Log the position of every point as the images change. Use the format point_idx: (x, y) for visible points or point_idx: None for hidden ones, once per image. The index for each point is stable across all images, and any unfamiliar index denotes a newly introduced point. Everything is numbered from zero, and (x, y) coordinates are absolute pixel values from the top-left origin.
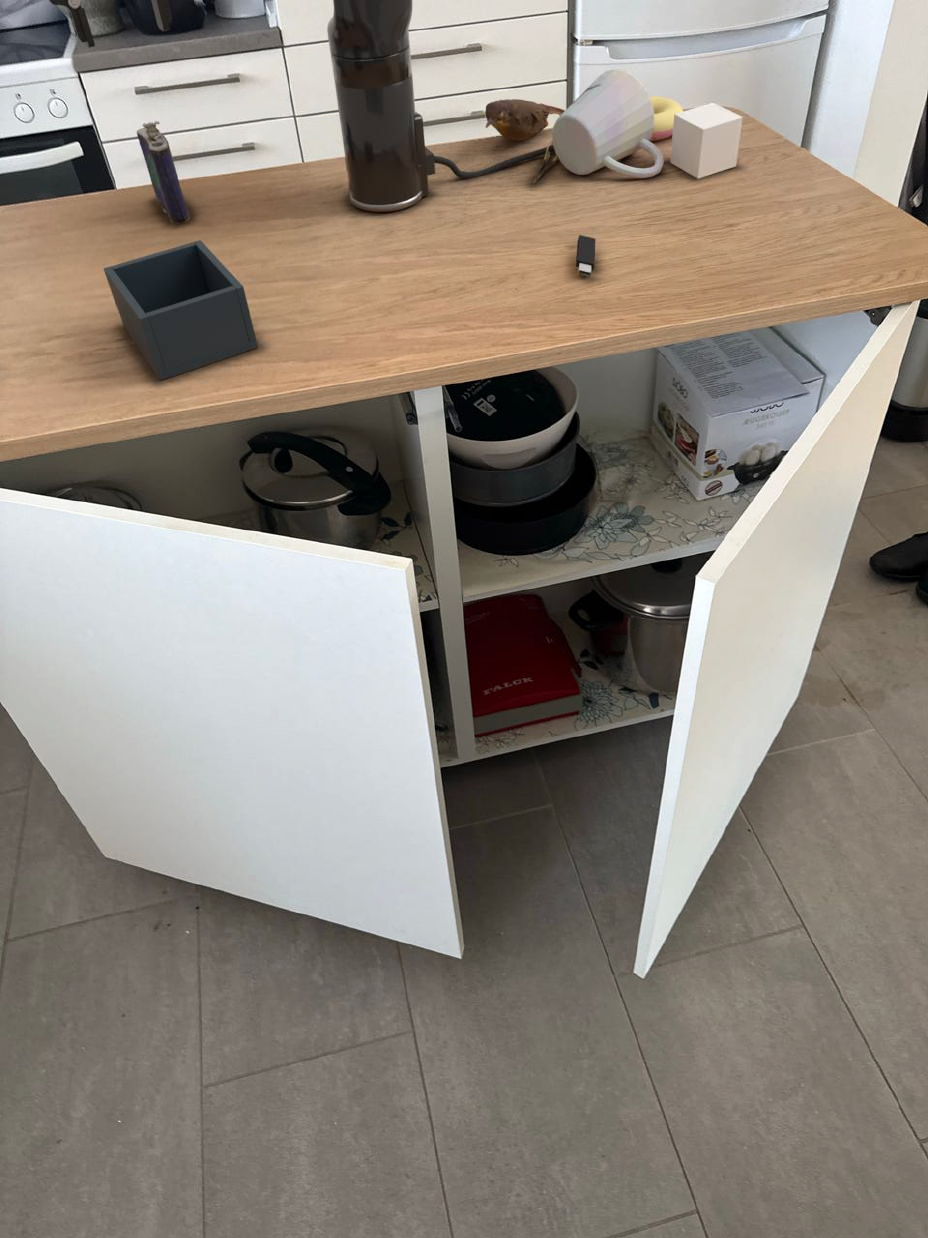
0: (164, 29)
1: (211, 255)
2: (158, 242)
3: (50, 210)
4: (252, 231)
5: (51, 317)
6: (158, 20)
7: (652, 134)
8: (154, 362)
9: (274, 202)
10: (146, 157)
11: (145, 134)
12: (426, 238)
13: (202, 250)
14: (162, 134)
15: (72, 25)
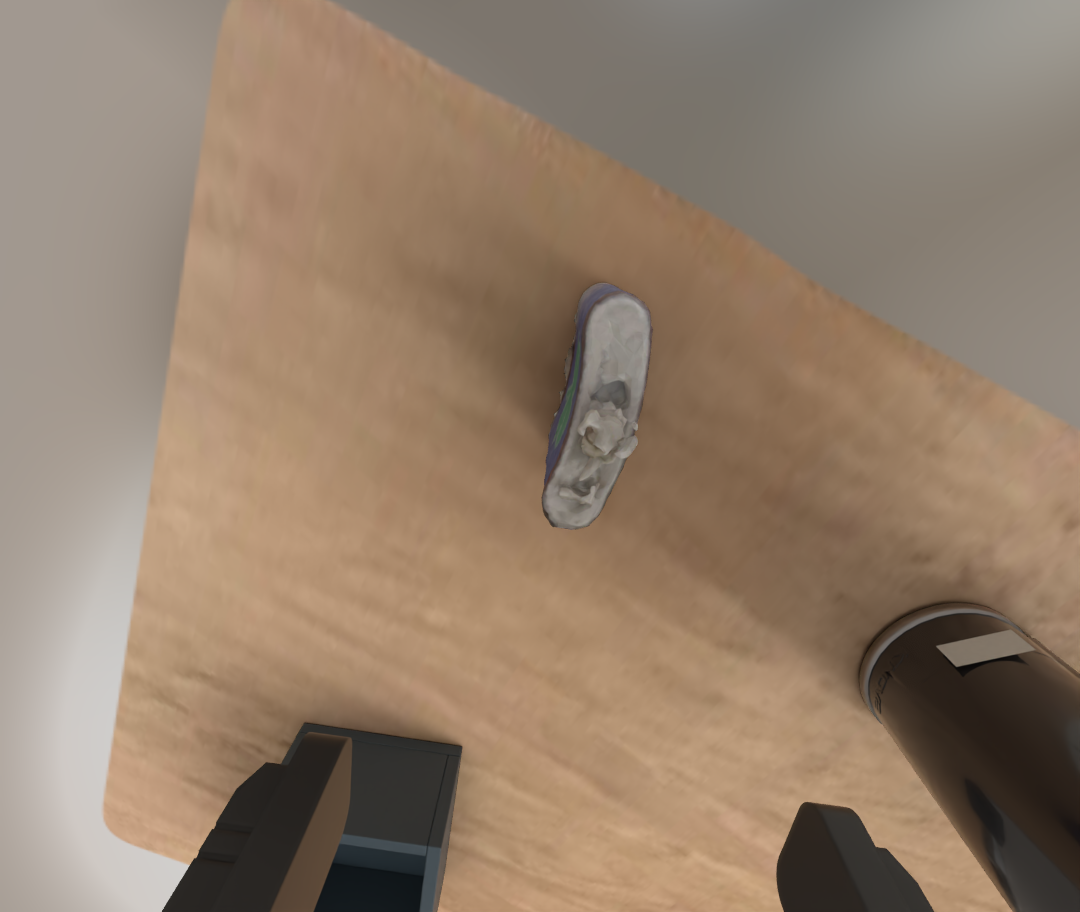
0: (779, 888)
1: (428, 900)
2: (480, 499)
3: (329, 95)
4: (651, 596)
5: (206, 615)
6: (813, 875)
7: None
8: None
9: (775, 516)
10: (580, 339)
11: (603, 349)
12: None
13: (424, 879)
14: (639, 409)
15: (200, 848)
